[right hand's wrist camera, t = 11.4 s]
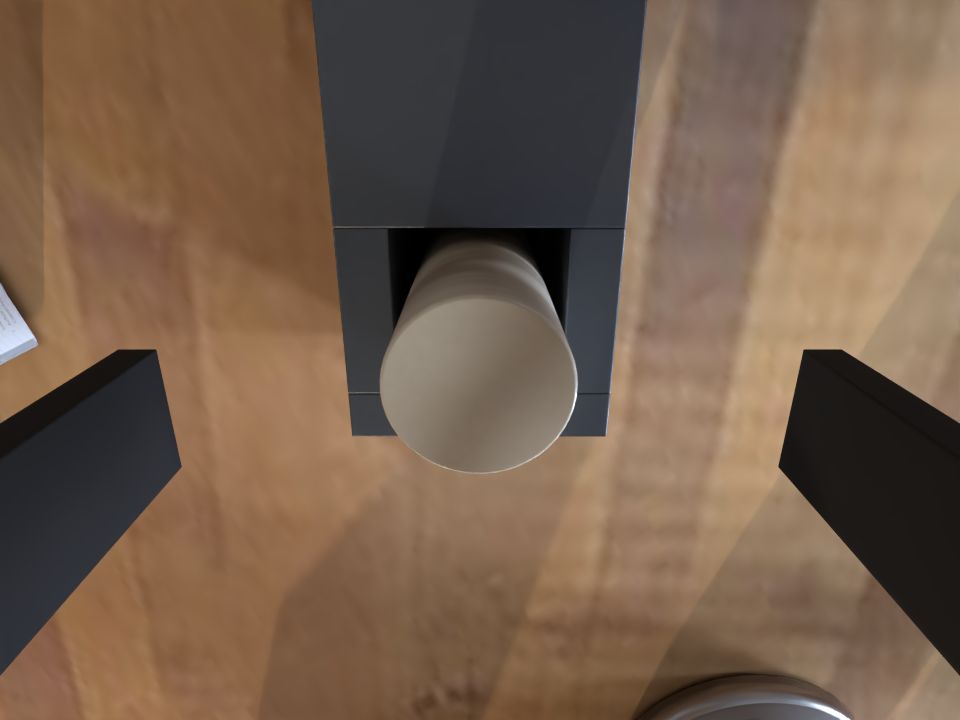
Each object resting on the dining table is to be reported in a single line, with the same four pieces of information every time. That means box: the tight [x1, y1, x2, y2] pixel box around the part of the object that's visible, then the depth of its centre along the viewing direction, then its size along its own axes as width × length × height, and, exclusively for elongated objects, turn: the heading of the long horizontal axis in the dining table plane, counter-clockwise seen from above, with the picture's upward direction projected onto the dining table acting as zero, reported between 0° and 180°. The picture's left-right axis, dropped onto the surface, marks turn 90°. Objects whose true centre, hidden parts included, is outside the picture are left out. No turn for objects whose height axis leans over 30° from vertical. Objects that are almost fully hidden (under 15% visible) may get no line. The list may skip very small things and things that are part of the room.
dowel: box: [380, 228, 578, 474], centre depth 19 cm, size 4×4×14 cm
